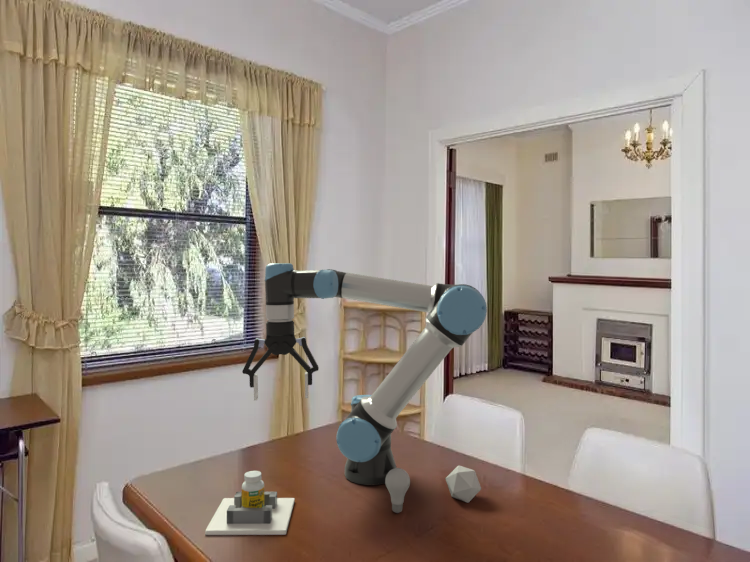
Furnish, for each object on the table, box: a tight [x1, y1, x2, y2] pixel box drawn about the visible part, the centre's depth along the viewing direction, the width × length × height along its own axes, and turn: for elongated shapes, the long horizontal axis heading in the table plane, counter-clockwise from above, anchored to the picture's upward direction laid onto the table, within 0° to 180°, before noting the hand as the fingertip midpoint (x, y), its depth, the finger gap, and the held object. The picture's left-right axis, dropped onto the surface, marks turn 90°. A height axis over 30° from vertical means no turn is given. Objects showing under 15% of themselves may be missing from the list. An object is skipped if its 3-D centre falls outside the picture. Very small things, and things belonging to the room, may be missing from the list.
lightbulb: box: [385, 467, 411, 514], centre depth 127 cm, size 6×6×11 cm
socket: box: [204, 491, 295, 536], centre depth 123 cm, size 18×16×4 cm
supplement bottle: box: [241, 470, 265, 508], centre depth 123 cm, size 5×5×10 cm
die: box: [445, 465, 482, 503], centre depth 135 cm, size 8×9×10 cm
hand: (281, 398), depth 139 cm, fingers open, 13 cm apart
